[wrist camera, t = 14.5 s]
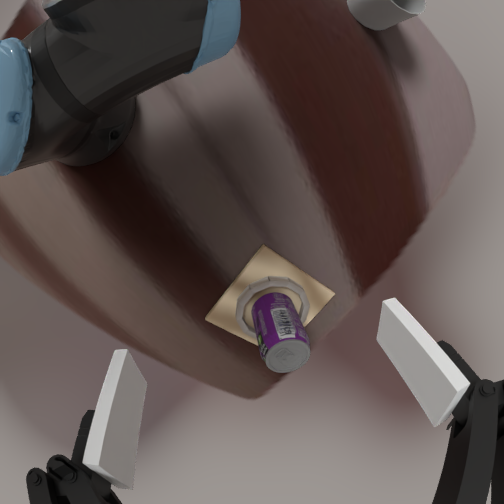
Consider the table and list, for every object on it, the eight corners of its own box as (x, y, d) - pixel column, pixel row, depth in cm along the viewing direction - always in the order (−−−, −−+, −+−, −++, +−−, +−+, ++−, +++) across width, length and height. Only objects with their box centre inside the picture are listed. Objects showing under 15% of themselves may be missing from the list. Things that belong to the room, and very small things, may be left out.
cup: (398, 25, 29) (434, 11, 20) (366, 35, 30) (401, 18, 21) (371, -12, 26) (402, -33, 17) (337, -5, 27) (366, -30, 18)
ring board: (276, 351, 51) (279, 359, 49) (205, 316, 46) (205, 325, 44) (333, 291, 47) (338, 298, 45) (263, 243, 42) (265, 249, 40)
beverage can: (241, 311, 46) (251, 363, 35) (270, 282, 44) (289, 329, 33) (272, 330, 48) (287, 380, 37) (300, 303, 46) (323, 351, 36)
